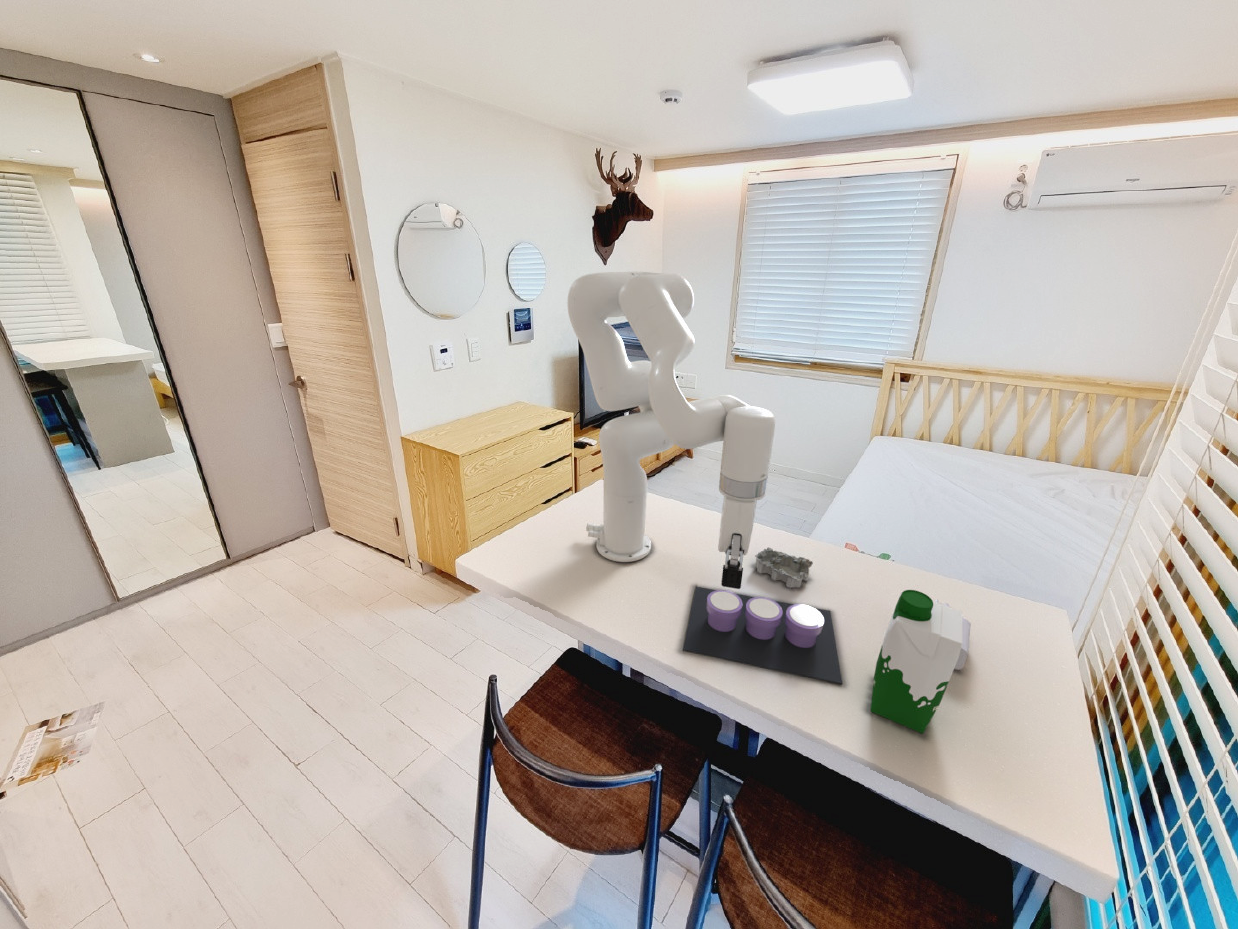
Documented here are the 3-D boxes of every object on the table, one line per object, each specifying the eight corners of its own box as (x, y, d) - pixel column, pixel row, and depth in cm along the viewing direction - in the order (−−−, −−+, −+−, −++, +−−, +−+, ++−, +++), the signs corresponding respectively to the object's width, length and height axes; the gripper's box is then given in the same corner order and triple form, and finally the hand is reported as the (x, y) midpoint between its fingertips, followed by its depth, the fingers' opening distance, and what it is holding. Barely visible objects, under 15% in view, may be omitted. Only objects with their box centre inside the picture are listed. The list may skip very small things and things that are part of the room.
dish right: (782, 645, 88) (786, 624, 86) (781, 621, 94) (785, 600, 92) (820, 653, 87) (826, 631, 85) (817, 628, 93) (822, 607, 91)
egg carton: (812, 577, 107) (816, 562, 105) (794, 593, 102) (797, 576, 101) (768, 555, 114) (771, 540, 112) (749, 568, 109) (752, 553, 108)
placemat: (682, 650, 87) (682, 649, 87) (695, 587, 103) (696, 586, 103) (842, 684, 81) (842, 683, 81) (830, 612, 97) (830, 610, 97)
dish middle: (741, 637, 90) (745, 616, 88) (743, 614, 96) (746, 593, 94) (778, 645, 89) (783, 623, 87) (778, 620, 94) (782, 600, 92)
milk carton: (871, 674, 83) (901, 576, 75) (933, 699, 79) (973, 598, 71) (862, 713, 77) (895, 610, 68) (930, 742, 72) (974, 636, 64)
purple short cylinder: (702, 629, 92) (705, 608, 90) (706, 607, 97) (709, 586, 95) (738, 637, 90) (741, 615, 88) (740, 613, 96) (743, 593, 94)
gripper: (723, 460, 90) (715, 541, 97) (714, 504, 75) (706, 596, 82) (766, 465, 89) (755, 547, 95) (766, 510, 73) (753, 605, 80)
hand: (732, 570), depth 89 cm, fingers open, 9 cm apart
